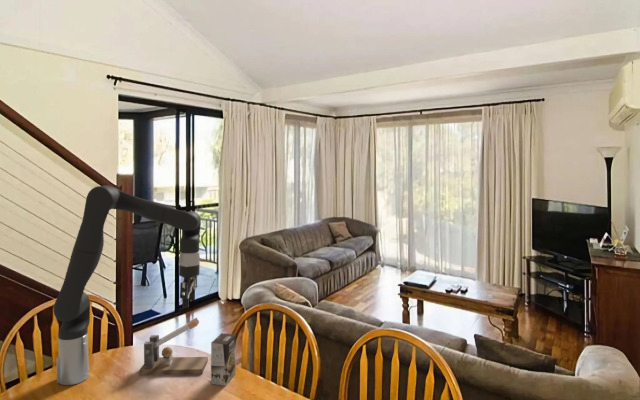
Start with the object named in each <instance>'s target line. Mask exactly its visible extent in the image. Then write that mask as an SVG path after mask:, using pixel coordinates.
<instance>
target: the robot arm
mask: <svg viewBox="0 0 640 400" xmlns="http://www.w3.org/2000/svg"><path fill="white" fill-rule="evenodd" d="M110 210H117V211H118V210H119V211H126V212H130V213H133V214H135V215H138V216H140V217H142V218H145V219H147V220H150V221H153V222H157V223H160V224H164V225H165V224H166V225H169V226H171V227H173V228H176V229H178V230H181V232H182V233H181V234H182V235H181V238H180V242H179V257H178V258H179V259H178V275H179V277H182V278H183V280H182V282H180V284H179V285H180V287H179V289H180V290H179V291H180V292H179V299H181V300H182V301H181V303H182V304H181V306H182V307H181V308H182V309H188V308H189V306H190V304H189V303H190V301H191V302H192V301H196V290H197V288H198V276H199V275H200V264H201V263H200V259H201V258H200V235H201V225H202V222H201V220H202V219H201V216H200V214H199V213H198V212H196V211H194V210H191V211H183V210H180V209H176V208H175V207H174V206H171V205H167V204H165V203H164V204H163V203H160V202H156V201H154V200H148V199H146V198H140V197H137V196H135V195H133V194H129V193H127V192H125V191H124V190H123V191H122V190H120V189H118V188H116V187H114V186H112V185H105V184H104V185H98V186H95V187H92V188H91V189H90V190H89V191H88V193H87V196H86V199H85V204H84V212H83V216H82V220H81V224H80V226H79V229H78V232H77V235H76V239H75V243H74V246H73V248H72V251H71V255H70V257H69V258H70V259H69V263H68V265H67V269H66V272H65V277H64V280H63V282H62V285H61V289H60V291H59V293H58V295H57V297H56V300H55V302H54V305H53V315H54V317H55V318H56V320H58V321H59V322H62V323H61V326H60V327H59V329H58V333H57V335H58V336H57V337H58V338H57V339H58V357H56V359H55V360H56V365H55V366H56V384H60V385H62V386H72V385H76V384H77V385H78V384H80V383H82V382H84V381H86V380H87V379H88V378H89V376H90V375H89V373H90V371H89V333H88V332H89V331H88V330H89V329H88V328H89V325H90V322H91V320H90V319H91V303H90V297H89V296H88V295H87V293H86V292H84V291H85V289H86V286H87V284H88V282H89V280H90V279H91V277H92V275H93V274H94V272H95V270H96V268H97V267H98V265H99V262H100V260H101V257H102V253H103V249H104V240H105V239H104V238H105V237H104V227H105V224H106V223H105V222H106V220H107V217H108V214H109V213H110Z"/></svg>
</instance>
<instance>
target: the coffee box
mask: <svg viewBox="0 0 640 400" xmlns="http://www.w3.org/2000/svg"><path fill="white" fill-rule="evenodd" d="M236 343H237V334H234V333H222V332H221V334H219V335H218V336H217V337H216V338H215V339H214V340H213V341H211V343H210V344H211V349H210V356H211V357H210V384H212V385H218V386H223V387H225V386H227V385H228V384H229V382H231V380H232V379H233V377H235V375H236V374H237V373H236V372H237V371H236V370H237V367H236V366H237V359H236V357H237V352H236V351H237V344H236Z"/></svg>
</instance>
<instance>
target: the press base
mask: <svg viewBox="0 0 640 400" xmlns="http://www.w3.org/2000/svg"><path fill="white" fill-rule="evenodd" d="M159 339H160V335H158V334H152V335H150V337H149V341H145V342H144V343H143V364H142V366H141V367H140V369H139V370H138V371H139V372H138V375H139V376H161V375H162V376H165V375H166V376H167V375H169V376H173V375H175V376H177V375H178V376H179V375H203V373H204V371H205V368H206V367H207V364H208V362H209V357H208V356H176V357H174V356H173V355H172V354H173V349H172V348H171V347H169V346H167V347H164V348H162V351H161V356H162V357H160V346H158V347H156V348H154V342H155V341H157V340H159Z"/></svg>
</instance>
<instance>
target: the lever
mask: <svg viewBox="0 0 640 400" xmlns="http://www.w3.org/2000/svg"><path fill="white" fill-rule="evenodd" d="M199 324H200V320H199V319H198V317H195V318H193V319H192V320H189V322H188V323H186V324H184V325H182V326H180V327H179V328H177V329H176V330H173V331H172V332H170V333H168V334H166V335H164V336H163V337H161V338H159V340H157V341H155V342H154V348H156V347H158V346H159V347H160V346H161V345H163V344H165V343H167V342H169V341H171V340H172V339H174V338H176V337H177V336H180V335H182V334H183V333H185V332H187V331H188V330H192V329H194V328H196V327H198V325H199Z"/></svg>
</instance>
